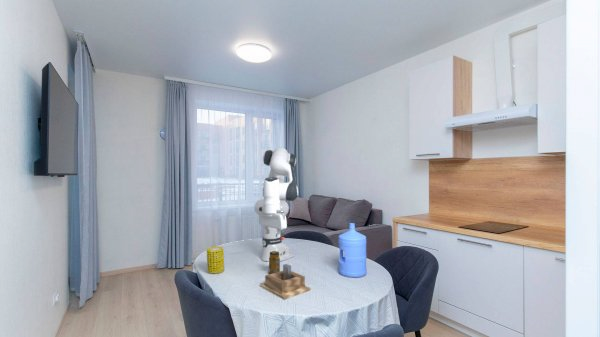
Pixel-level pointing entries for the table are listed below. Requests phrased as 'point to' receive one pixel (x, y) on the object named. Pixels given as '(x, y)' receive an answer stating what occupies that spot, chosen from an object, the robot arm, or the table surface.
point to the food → (215, 259)
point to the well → (285, 285)
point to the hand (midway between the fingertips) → (272, 235)
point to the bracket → (286, 272)
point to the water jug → (352, 253)
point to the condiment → (274, 262)
